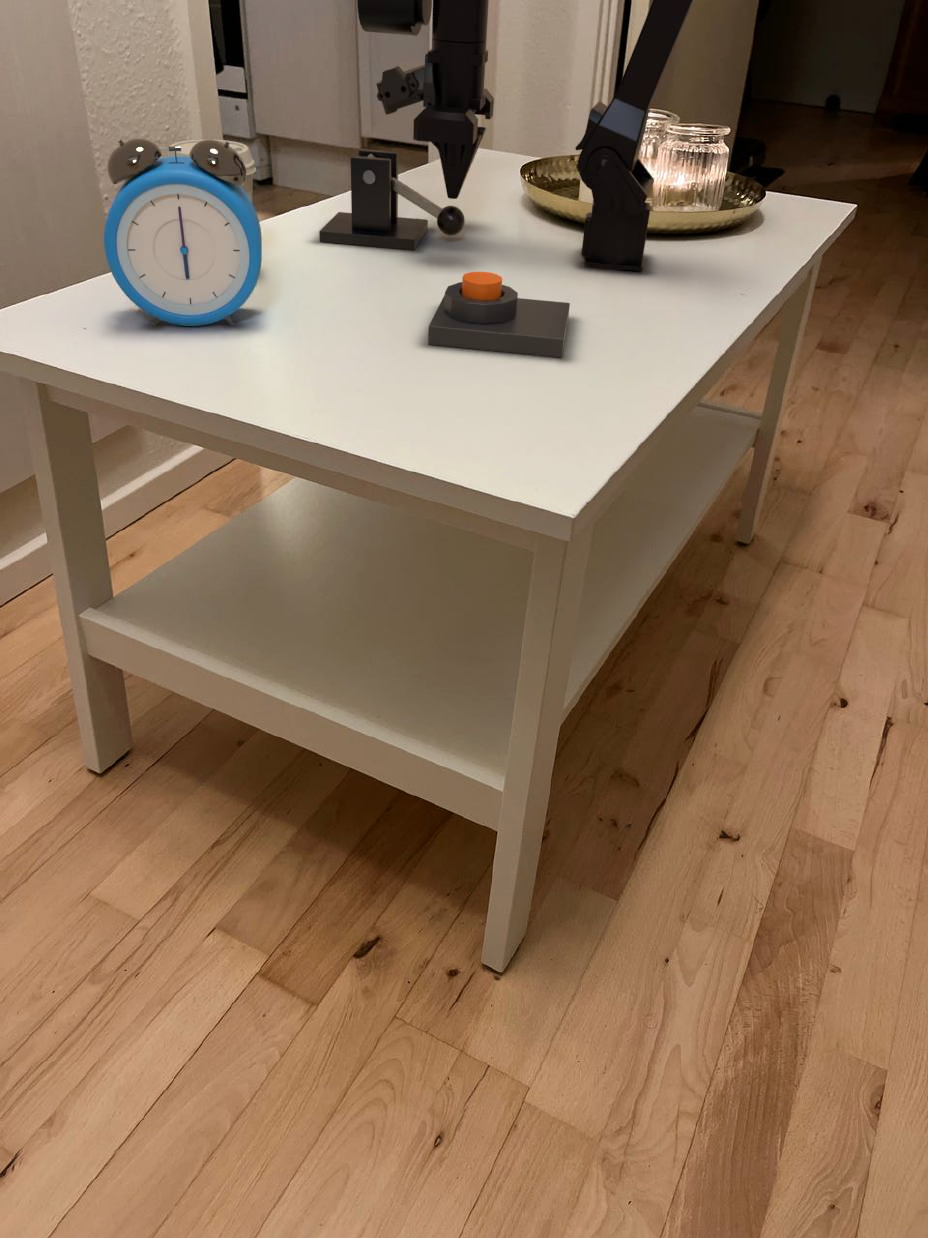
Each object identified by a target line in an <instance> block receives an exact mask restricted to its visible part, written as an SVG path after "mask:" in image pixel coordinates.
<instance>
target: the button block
mask: <svg viewBox="0 0 928 1238" xmlns="http://www.w3.org/2000/svg"><path fill="white" fill-rule="evenodd" d="M518 296H519V292H518V291H516V290H514V289H513V288H512V287H511V286H508V285H504V284H502V290H501V298H498V299H494V300H477V299H471V298H468V297H464V296H462V281H460V282H459V281H458V282H457V283H454V284H451V285H448V286H447V288H446V290H445V292H444V295H443V297H442V299H441V301H440V303H439V305H438V307H437V309H436V311H435V313H434V314H433V316H432V319H431V321H430V323H429V325H428V331H427V332H428V333H427V344H428V345H431V346H440V347H449V348H450V347H451V348H462V349H470V350H480V351H481V350H482V351H491V352H503V353H511V354H521V355H532V356H542V357H551V358H562V357H563V352H564V348H565V340H566V335H567V329H568V322H569V315H570V307H571V303H570V302H566V301H565V302H563V301H552V300H544V299H543V300H542V299H532V298H531V299H530V298H520V297H518Z"/></svg>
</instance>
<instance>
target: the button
mask: <svg viewBox="0 0 928 1238" xmlns="http://www.w3.org/2000/svg"><path fill="white" fill-rule="evenodd" d="M461 279H462V280H461V282H462V296H464V297H468V298H471V299H477V300H494V299H498V298H501V290H502V285H503V277H502V276H501V275H499V274H497V273H494V272H489V271H470V272H466V273H464V274H463V275H462V278H461Z"/></svg>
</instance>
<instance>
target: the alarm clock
mask: <svg viewBox="0 0 928 1238" xmlns="http://www.w3.org/2000/svg"><path fill="white" fill-rule="evenodd" d="M202 140H203V141H200V142H198V143H196V144H195V145H194V146H193V147H192V149H191V151H190V153H189V156H190V157H180V156H177V157H176V151H181V147H174V146H170V145H169V146H168V152H169V151H175V157H168V156H166V157H162V156H163V152H162V150H161V149H160V147H159V146H158V145H157V144H156V143H155V142H153V141H151V140H149V139H146V138H140V137H137V138H130V139H128V140H126V141H123V140H122V139H119V140H118V141H117V143H118V144H119V145H117V147H115V148H114V149H113V150H112V152H110V154H109V156H108V159H107V163H106V173H107V176H108V178H109V180H110V182H111V183H112V184H113V185H118V184H120V183H122V184H121V186H120V188H119V189H118V191H117V193H116V195H115V197H114V199H113V201H112V204H111V206H110V208H109V210H108V213H107V216H106V219H105V223H104V229H103V230H104V231H103V246H104V253H105V258H106V261H107V265H108V268H109V270H110V272H111V275H112V277H113V279H114V280H115V282H116V284H117V285H118V287H119V288H120V290H121V291H122V292H123V294H124V295H125V296H126V297H127V298H128V299H129V300H130V301H131V302H132V303H133V304H135V306H137V307H138V308H139V309H140V310H142V311H143V312H145V313H147V314H148V315H150V316H152V317H153V322H152V326H153V327H156V326H157V324H158V323H159V321H160V320H161V321H163V322H166V323H169V324H174V325H177V326H186V327H190V326H191V327H197V326H198V327H199V326H204V325H205V326H206V325H209V324H214V323H217V322H219V321H222V320H225V321H226V322H227V323H228V324H229V325H230V326H234V322H233V320H232V318H231V315H233V314H235V312H236V311H238V310H239V309H241V307H243V305H245V303H246V302H247V300H249V298H250V297H251V295H252V294H253V292H254V290H255V288H256V286H257V283H258V282H259V281H258V280H259V277H260V274H261V269H262V261H263V260H262V259H263V256H262V255H263V253H262V252H263V251H262V249H263V248H262V247H263V246H262V244H263V243H262V228H261V224H260V219H259V216H258V213H257V211H256V208H255V206H254V204H253V201H252V202H251V200H250V199H249V197H248V196H247V194H246V193H245V191H244V190H243V189H242V187H241V186H242V185H243V184H244V182H245V179H246V167H245V164H244V162H243V160H242V158H241V157H240V155H239V154H238V153H237V152H236V151H235V150H234V149H233V148H231V147H230V146H229V144H230V143H229V142H227V141H228V140H226V143H223V142H220V141H217V140H218V139H202Z"/></svg>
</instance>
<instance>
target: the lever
mask: <svg viewBox="0 0 928 1238" xmlns="http://www.w3.org/2000/svg"><path fill="white" fill-rule="evenodd" d="M367 157H374V158H377V157H376V156H374V155H373V154H370V155H369V156H367ZM391 168H392V167H391ZM391 189H392V190H393V191H395V192H397V193H398V195H400V196H401V197H403V198H405V199H406V200H407V201H409V202H410V203H412V204H413V205H415V206H417V207H418V208H419V209H421V210H423V211H424V212H426V213H428V214H429V215H431V216H432V217H434V218H436V224H437V228H438V229H439V231H440V232H441V233H442V234H444V235H446V236H449V237H451V236H456V235H458V234H459V233H461V232H462V230H463V228H464V227H465V224H466V223H465V221H466V220H465V216H464V213H463V211H462V209H460V208H459V207H457V206H455V205H446V206H444V207H443V208H442V207H441V206H439V205H438V204H436V203H435V202H433V201H431V200H430V199H428V198H427V197H425V196H424V195H422V194H421V193H420V192H417V191H416V190H414V189H413V188H411V187H409V186H408V185H406V183H404V182H402V181H400V180H399V179H398V180H397V179H396V178H394V177H393V176H391Z"/></svg>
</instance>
